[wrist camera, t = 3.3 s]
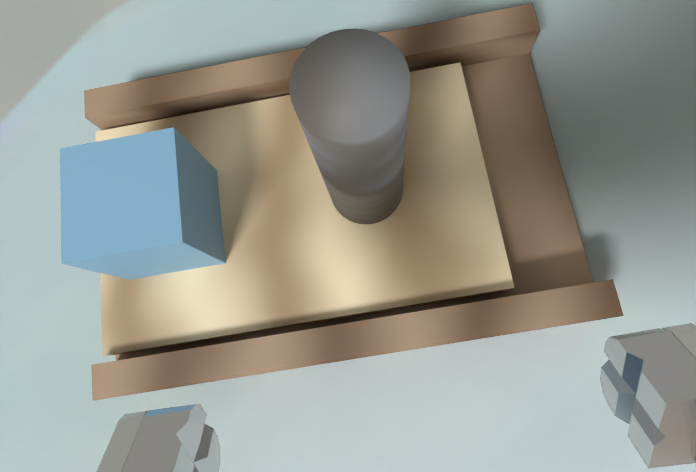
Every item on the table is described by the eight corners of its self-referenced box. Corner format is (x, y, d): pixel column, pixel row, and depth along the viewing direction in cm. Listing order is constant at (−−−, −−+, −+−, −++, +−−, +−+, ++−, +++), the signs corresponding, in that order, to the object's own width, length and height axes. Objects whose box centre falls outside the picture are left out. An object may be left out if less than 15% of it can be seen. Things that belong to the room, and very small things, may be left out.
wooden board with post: (457, 72, 26) (505, -120, 15) (509, 290, 23) (612, 243, 12) (106, 139, 27) (-83, 3, 16) (114, 355, 24) (-109, 364, 13)
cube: (216, 169, 25) (173, 127, 20) (225, 263, 23) (182, 242, 19) (124, 186, 25) (60, 148, 20) (129, 279, 24) (61, 263, 19)
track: (518, 37, 27) (532, 3, 24) (596, 319, 23) (623, 315, 20) (113, 115, 28) (84, 90, 25) (126, 394, 24) (92, 400, 22)
